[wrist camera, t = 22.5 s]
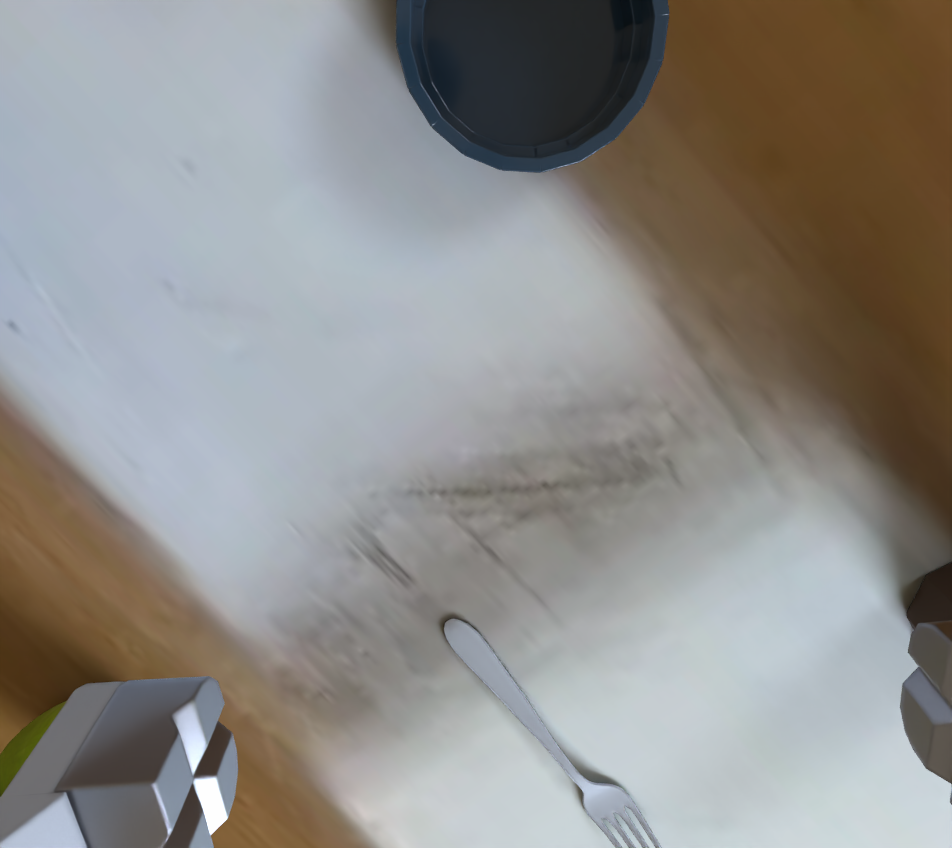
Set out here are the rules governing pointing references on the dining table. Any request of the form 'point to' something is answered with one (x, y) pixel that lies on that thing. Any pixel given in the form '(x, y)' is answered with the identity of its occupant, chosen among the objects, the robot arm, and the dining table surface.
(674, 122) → the dining table surface
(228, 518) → the dining table surface
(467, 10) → the dark blue bowl
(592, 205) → the dining table surface
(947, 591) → the beer bottle
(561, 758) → the fork
